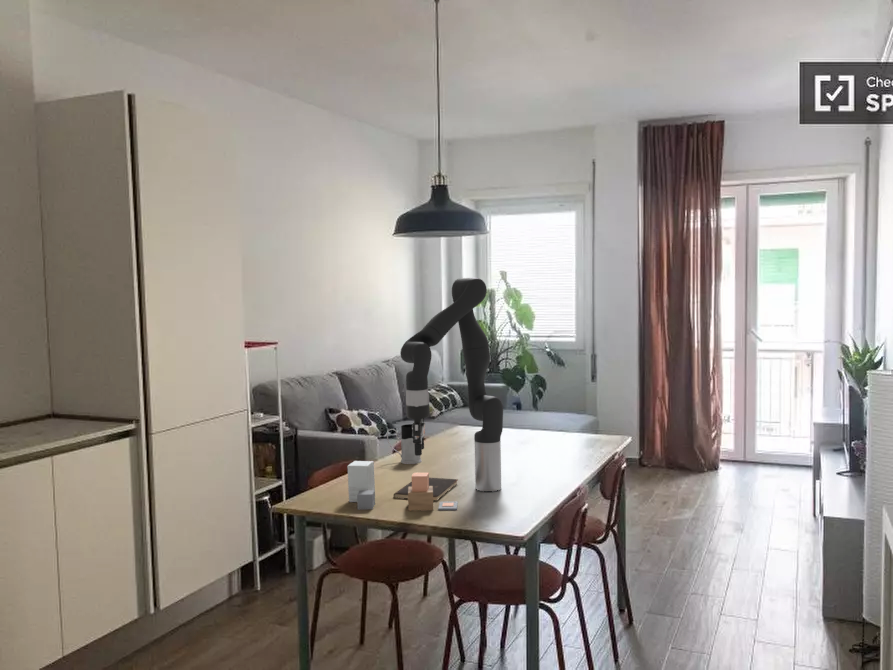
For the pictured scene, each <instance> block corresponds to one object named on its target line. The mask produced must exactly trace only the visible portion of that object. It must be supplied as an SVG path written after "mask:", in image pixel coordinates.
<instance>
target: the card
mask: <svg viewBox="0 0 893 670" xmlns="http://www.w3.org/2000/svg"><path fill="white" fill-rule="evenodd" d="M457 505H459V501H457V500H455V501H450V500H449V501H442V500H441V501H439V504H438V508H437V511H457V510H458V506H457Z"/></svg>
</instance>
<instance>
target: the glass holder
mask: <svg viewBox="0 0 893 670" xmlns="http://www.w3.org/2000/svg"><path fill="white" fill-rule="evenodd" d="M412 424H413V423H410V424H409V423H408V424H403V425H401V427H400V429H401V432H400V433H401V437H400V438H399V434H398V431H397V430H396V429H394V428H389V429H388V430H387V432H386V439H387V442H388V445H389V446H390V447H391V449H393V450H394V451H395V452H396V453H398V454H399V455H400V459H401V460H400V464H401V463H402V464H406V465H407V464H408V465H416V464H420V463H422V461H423V460H422V458H421V455H419V456H416V455H415V445H414V443H413V429H412ZM392 430H393V431H394V432H395V434H396V438H397V439H398V440H400V443H401V446H400V447H401V448H400V449H401V453H400V452H399V451H398V450H397V449H395V448H394V447H393V445H392V444H391V443H390V441H389V436H388V435H389V434H388V433H389V432H390V431H392ZM416 439H417V438H416Z"/></svg>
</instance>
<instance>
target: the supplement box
mask: <svg viewBox="0 0 893 670" xmlns="http://www.w3.org/2000/svg"><path fill="white" fill-rule="evenodd" d="M347 486H348V488H347V489H348V502H349V503H357V494H358V492H359V491H360V490H375V491H376V485H375V461H373V460H371V461H370V460H353V462H350V463H349V464H348V465H347Z"/></svg>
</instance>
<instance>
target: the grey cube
mask: <svg viewBox="0 0 893 670" xmlns="http://www.w3.org/2000/svg"><path fill="white" fill-rule="evenodd" d="M356 503H357V510H374V508H375V506H374V505H376V489H375V490H360V491H359V492H358V494H357V502H356ZM373 507H374V508H373Z"/></svg>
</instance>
